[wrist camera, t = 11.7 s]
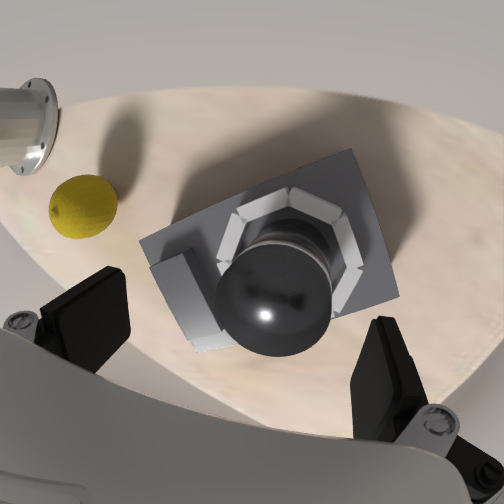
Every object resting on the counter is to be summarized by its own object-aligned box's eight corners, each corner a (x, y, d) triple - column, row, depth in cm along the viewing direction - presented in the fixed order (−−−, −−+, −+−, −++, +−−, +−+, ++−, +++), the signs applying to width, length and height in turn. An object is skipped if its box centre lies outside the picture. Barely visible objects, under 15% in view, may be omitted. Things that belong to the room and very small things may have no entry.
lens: (322, 300, 19) (317, 365, 13) (248, 286, 20) (212, 343, 14) (337, 225, 18) (344, 263, 11) (256, 212, 19) (218, 241, 12)
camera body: (216, 323, 28) (189, 363, 22) (169, 226, 26) (127, 246, 20) (386, 270, 22) (404, 306, 16) (344, 151, 21) (353, 146, 15)
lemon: (106, 235, 28) (50, 259, 21) (85, 189, 27) (26, 202, 20) (142, 211, 26) (83, 231, 19) (118, 160, 25) (56, 166, 18)
